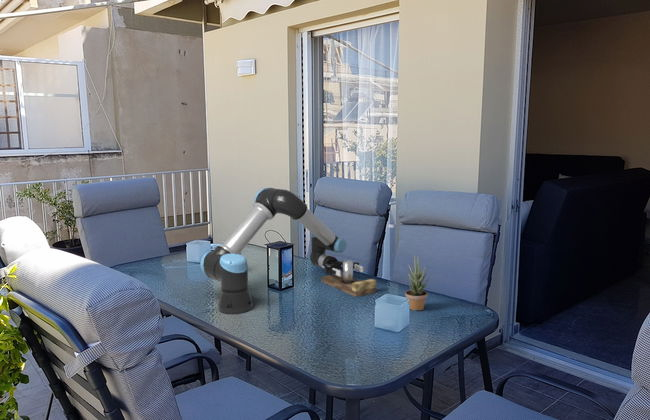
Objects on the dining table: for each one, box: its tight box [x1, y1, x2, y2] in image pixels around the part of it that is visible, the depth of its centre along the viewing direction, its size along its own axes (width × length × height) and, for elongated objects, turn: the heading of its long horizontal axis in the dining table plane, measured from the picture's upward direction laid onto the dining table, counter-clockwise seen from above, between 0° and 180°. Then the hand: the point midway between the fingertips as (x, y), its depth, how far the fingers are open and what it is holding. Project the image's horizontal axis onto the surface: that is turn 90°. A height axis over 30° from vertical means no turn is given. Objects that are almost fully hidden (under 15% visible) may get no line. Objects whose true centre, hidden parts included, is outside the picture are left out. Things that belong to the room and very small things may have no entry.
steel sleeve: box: [342, 259, 354, 284], centre depth 257 cm, size 5×5×13 cm
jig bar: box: [321, 272, 377, 298], centre depth 258 cm, size 12×30×6 cm, turn 32°
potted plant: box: [404, 254, 430, 311], centre depth 223 cm, size 10×10×25 cm
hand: (351, 271), depth 254 cm, fingers open, 13 cm apart
